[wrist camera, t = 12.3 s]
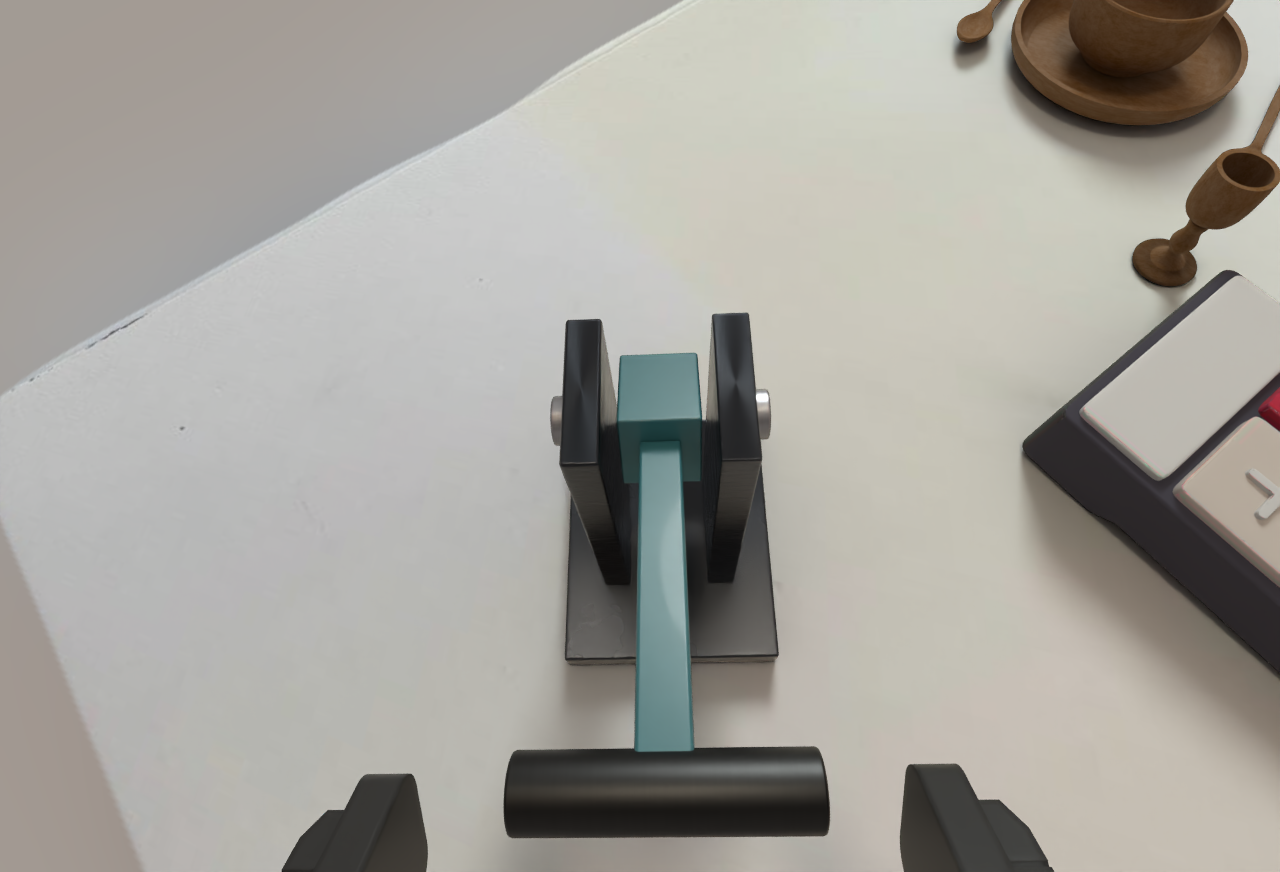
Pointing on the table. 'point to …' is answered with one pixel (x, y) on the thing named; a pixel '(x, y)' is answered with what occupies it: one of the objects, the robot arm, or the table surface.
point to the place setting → (1146, 93)
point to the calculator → (1189, 452)
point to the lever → (664, 673)
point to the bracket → (713, 508)
